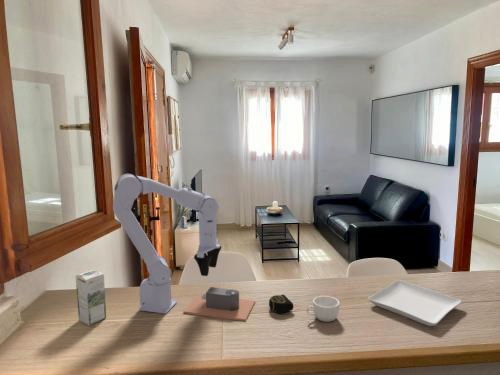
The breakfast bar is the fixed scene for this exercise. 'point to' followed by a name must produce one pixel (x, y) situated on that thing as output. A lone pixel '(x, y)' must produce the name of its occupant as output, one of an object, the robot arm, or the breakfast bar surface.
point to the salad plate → (414, 302)
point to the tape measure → (280, 304)
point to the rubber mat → (200, 309)
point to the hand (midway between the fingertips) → (208, 271)
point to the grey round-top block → (222, 299)
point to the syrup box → (91, 297)
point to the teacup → (325, 308)
